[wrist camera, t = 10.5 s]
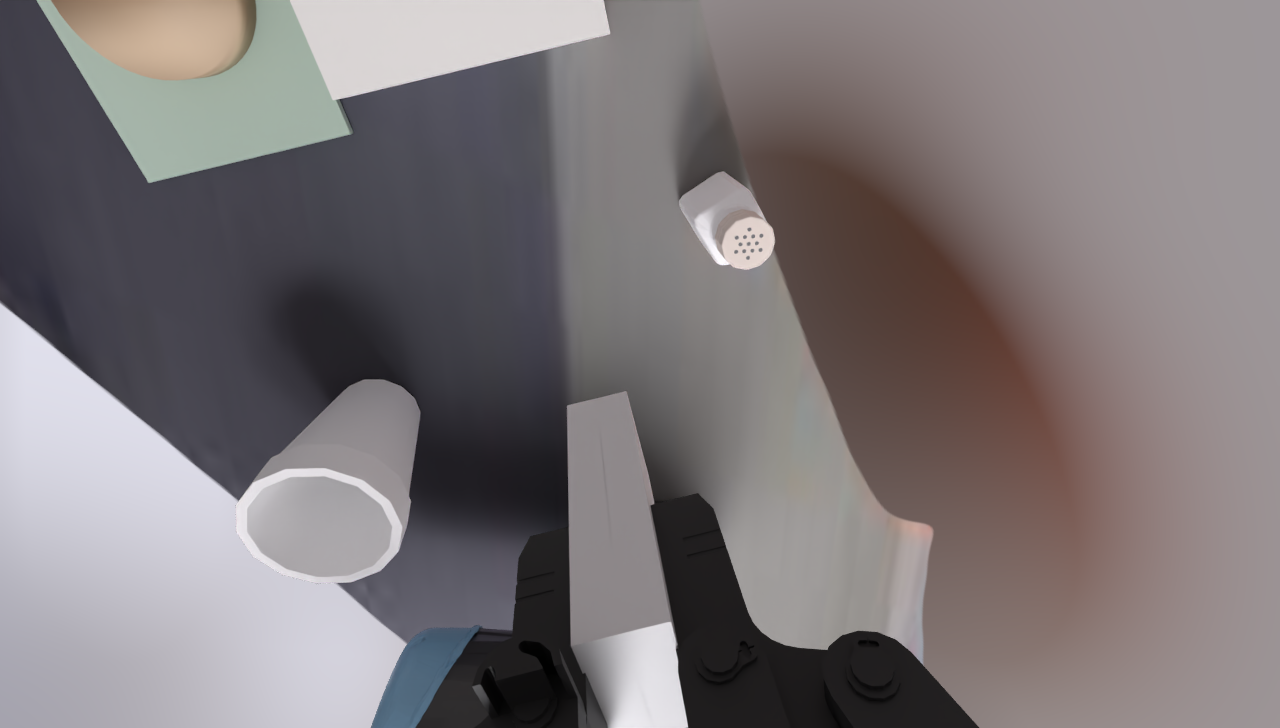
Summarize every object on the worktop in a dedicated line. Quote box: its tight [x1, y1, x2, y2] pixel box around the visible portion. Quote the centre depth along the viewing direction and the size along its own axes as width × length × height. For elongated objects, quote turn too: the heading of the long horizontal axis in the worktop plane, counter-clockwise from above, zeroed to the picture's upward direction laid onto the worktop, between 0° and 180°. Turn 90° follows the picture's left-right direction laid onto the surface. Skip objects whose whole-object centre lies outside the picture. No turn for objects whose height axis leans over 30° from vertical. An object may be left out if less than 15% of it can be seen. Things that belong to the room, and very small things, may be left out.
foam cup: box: [236, 379, 421, 584], centre depth 41 cm, size 10×9×13 cm
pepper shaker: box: [679, 171, 775, 270], centre depth 38 cm, size 4×4×10 cm
